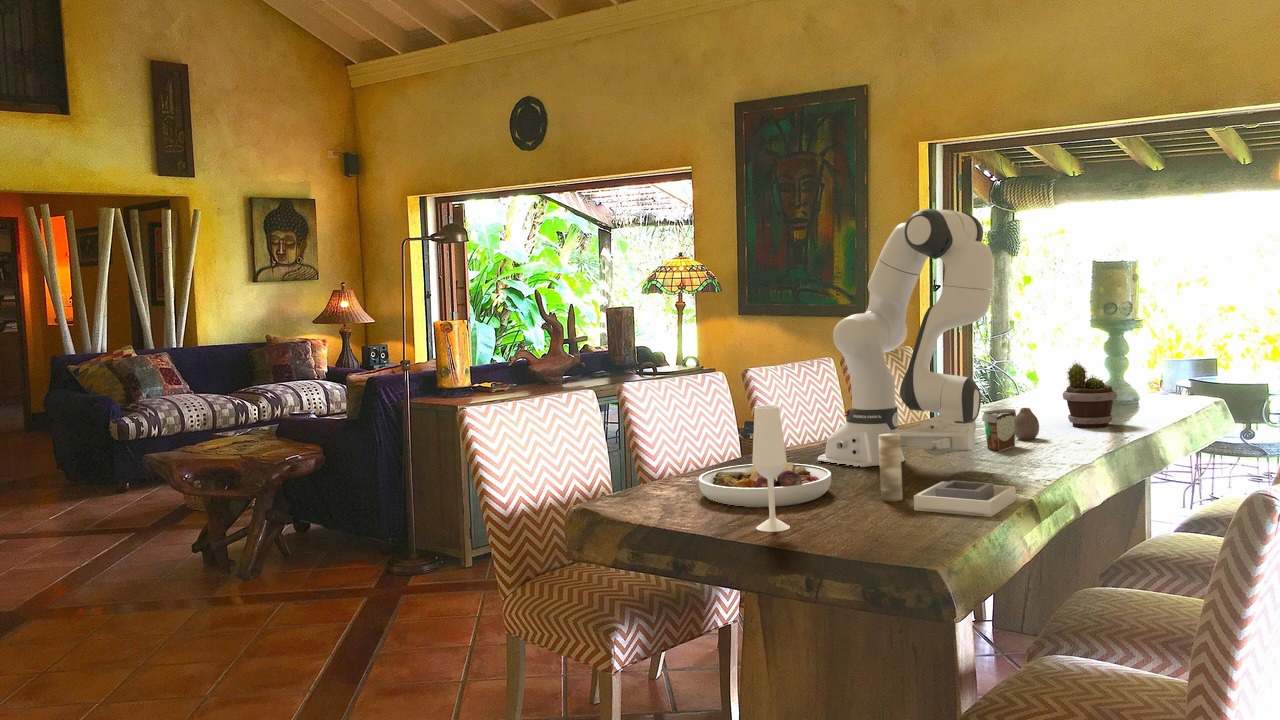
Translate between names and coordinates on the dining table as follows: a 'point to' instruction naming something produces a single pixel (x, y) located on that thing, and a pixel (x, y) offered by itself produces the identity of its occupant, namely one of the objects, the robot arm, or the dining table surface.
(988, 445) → the food container
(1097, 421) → the flowerpot
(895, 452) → the peg
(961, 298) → the robot arm
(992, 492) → the tray
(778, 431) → the champagne flute
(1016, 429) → the vase
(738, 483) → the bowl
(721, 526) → the dining table surface
